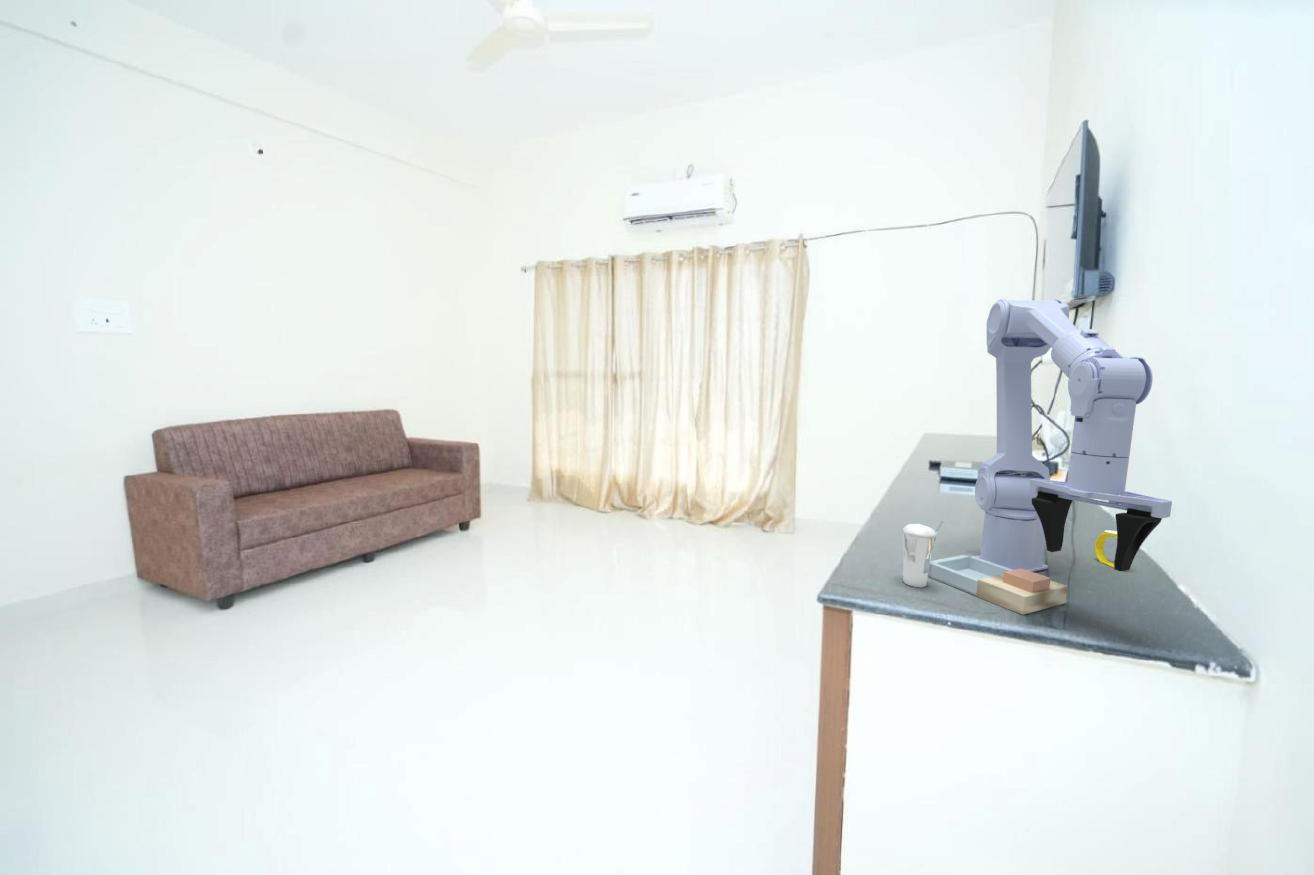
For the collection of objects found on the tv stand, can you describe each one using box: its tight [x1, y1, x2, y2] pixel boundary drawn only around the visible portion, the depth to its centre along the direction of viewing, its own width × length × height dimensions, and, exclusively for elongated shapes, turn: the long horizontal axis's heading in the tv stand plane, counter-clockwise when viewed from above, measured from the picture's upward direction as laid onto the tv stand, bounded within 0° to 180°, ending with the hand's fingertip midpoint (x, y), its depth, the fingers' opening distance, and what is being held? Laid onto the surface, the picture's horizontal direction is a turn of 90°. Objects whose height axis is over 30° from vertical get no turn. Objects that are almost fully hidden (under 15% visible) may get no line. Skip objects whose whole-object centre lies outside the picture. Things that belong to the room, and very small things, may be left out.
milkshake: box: [902, 520, 944, 588], centre depth 82 cm, size 5×5×10 cm
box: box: [928, 554, 1012, 597], centre depth 84 cm, size 10×8×2 cm
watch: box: [1094, 529, 1117, 569], centre depth 93 cm, size 6×3×6 cm, turn 0°
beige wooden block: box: [975, 574, 1069, 616], centre depth 78 cm, size 10×6×2 cm, turn 116°
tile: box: [1003, 568, 1052, 593], centre depth 76 cm, size 4×4×2 cm
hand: (1086, 559), depth 70 cm, fingers open, 7 cm apart
